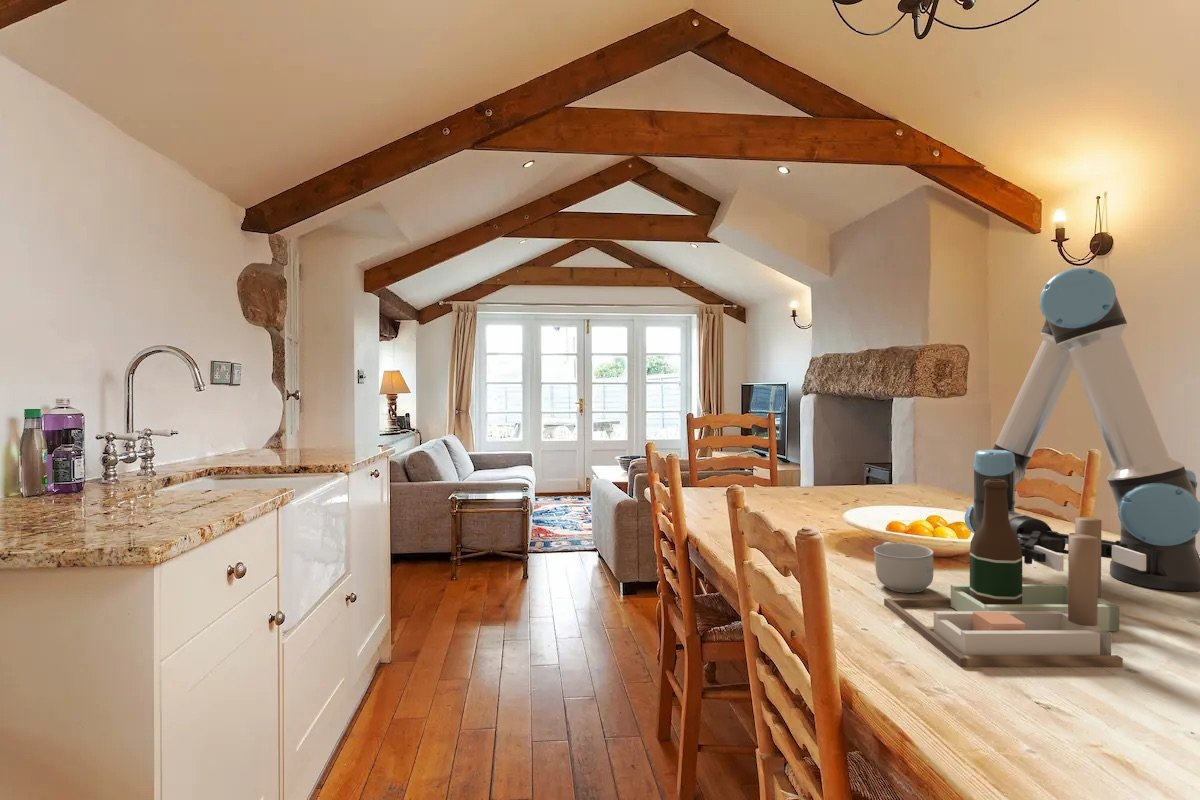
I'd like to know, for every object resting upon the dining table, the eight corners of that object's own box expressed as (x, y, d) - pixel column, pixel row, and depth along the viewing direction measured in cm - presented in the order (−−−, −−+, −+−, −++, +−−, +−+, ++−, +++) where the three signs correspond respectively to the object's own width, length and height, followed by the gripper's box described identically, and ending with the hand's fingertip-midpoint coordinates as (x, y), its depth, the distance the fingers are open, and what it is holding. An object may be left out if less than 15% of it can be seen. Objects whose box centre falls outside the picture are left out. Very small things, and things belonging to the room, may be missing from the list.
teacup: (941, 598, 124) (941, 556, 123) (879, 595, 126) (880, 554, 126) (920, 577, 137) (920, 539, 137) (865, 574, 139) (865, 537, 139)
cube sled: (1072, 635, 104) (1073, 529, 104) (1118, 660, 95) (1119, 544, 95) (933, 636, 105) (933, 530, 104) (965, 660, 95) (965, 545, 95)
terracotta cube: (1005, 643, 102) (1005, 611, 102) (1024, 656, 97) (1025, 623, 97) (972, 643, 103) (972, 611, 102) (990, 656, 98) (990, 623, 97)
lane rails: (1010, 604, 120) (1010, 598, 120) (1122, 666, 93) (1122, 658, 93) (884, 604, 120) (884, 598, 120) (960, 666, 94) (960, 658, 94)
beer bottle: (959, 612, 116) (959, 478, 115) (994, 608, 118) (995, 475, 117) (996, 628, 108) (996, 484, 108) (1033, 623, 110) (1034, 482, 110)
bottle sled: (1073, 606, 118) (1074, 512, 118) (1125, 631, 106) (1126, 526, 106) (950, 606, 119) (950, 513, 118) (988, 631, 107) (988, 527, 106)
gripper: (1085, 552, 130) (1178, 585, 109) (959, 553, 130) (1026, 585, 109) (1085, 514, 130) (1178, 540, 109) (959, 515, 130) (1027, 541, 109)
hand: (1102, 563), depth 109 cm, fingers open, 13 cm apart
